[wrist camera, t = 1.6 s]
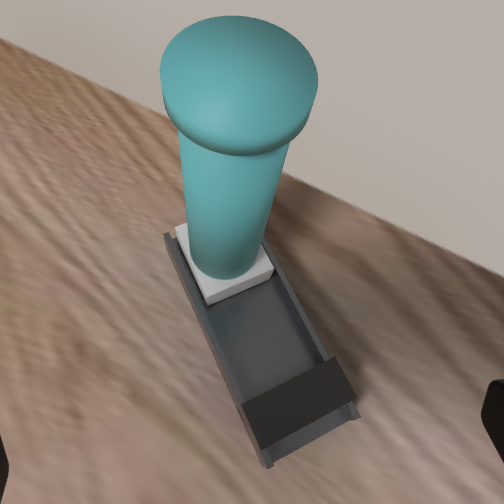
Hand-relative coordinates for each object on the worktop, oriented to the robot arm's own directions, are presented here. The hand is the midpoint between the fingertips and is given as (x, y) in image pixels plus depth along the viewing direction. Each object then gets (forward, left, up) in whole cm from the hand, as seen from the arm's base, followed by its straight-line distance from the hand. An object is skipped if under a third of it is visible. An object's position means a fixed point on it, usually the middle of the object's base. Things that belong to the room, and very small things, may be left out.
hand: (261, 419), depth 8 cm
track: (+4, -3, -14) cm, 15 cm away
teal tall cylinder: (+8, -3, -13) cm, 15 cm away
